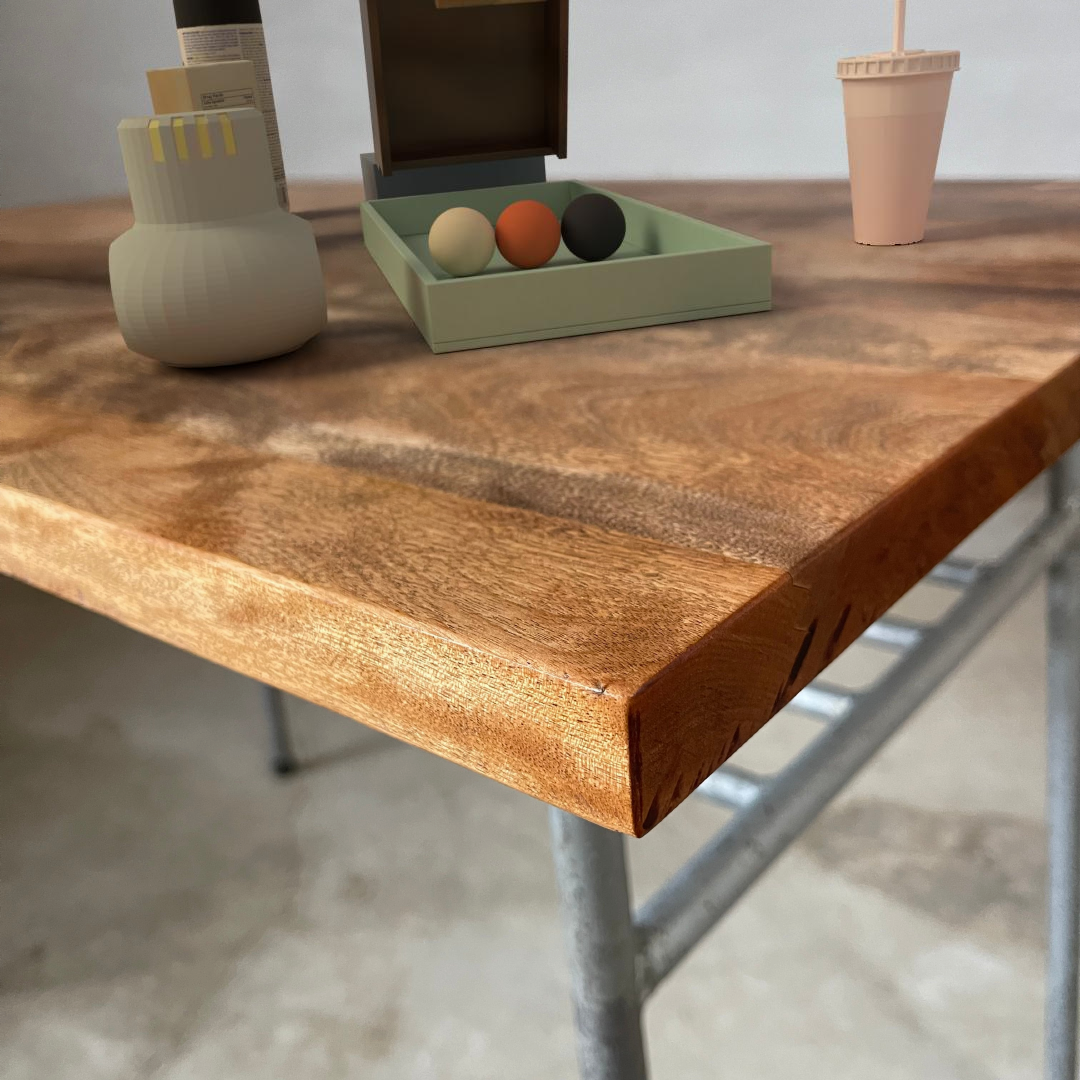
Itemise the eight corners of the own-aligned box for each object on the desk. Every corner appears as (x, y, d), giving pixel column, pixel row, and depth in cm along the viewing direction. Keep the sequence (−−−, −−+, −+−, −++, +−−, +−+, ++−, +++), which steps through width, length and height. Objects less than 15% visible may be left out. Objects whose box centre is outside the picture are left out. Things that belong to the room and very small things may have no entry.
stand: (368, 219, 89) (359, 153, 87) (516, 203, 91) (511, 139, 89) (382, 237, 79) (373, 164, 77) (549, 219, 81) (544, 147, 79)
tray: (364, 245, 77) (358, 201, 75) (577, 221, 79) (575, 179, 78) (433, 353, 47) (425, 284, 46) (771, 310, 50) (772, 243, 48)
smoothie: (945, 228, 65) (964, -40, 60) (951, 247, 60) (972, -46, 54) (832, 232, 67) (840, -28, 61) (828, 251, 62) (836, -33, 56)
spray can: (270, 212, 99) (228, -41, 91) (307, 216, 94) (266, -51, 86) (199, 223, 95) (149, -40, 87) (233, 228, 90) (184, -50, 82)
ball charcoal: (549, 189, 61) (547, 255, 61) (608, 180, 59) (605, 248, 59) (581, 208, 64) (579, 270, 64) (638, 199, 62) (635, 264, 62)
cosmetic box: (244, 239, 84) (213, 62, 79) (287, 240, 81) (258, 58, 77) (178, 255, 79) (141, 67, 74) (222, 256, 77) (187, 63, 72)
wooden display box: (352, -67, 66) (378, -16, 58) (551, -79, 68) (604, -32, 60) (375, 160, 75) (400, 232, 67) (550, 143, 77) (596, 211, 69)
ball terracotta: (481, 261, 62) (480, 203, 59) (528, 237, 64) (529, 180, 61) (525, 289, 60) (527, 231, 58) (573, 264, 62) (576, 206, 59)
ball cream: (411, 216, 58) (435, 282, 59) (475, 191, 58) (498, 257, 58) (428, 227, 62) (450, 289, 62) (488, 203, 61) (510, 266, 62)
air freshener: (339, 368, 46) (300, 107, 42) (129, 397, 44) (67, 128, 40) (317, 317, 55) (284, 102, 51) (145, 339, 54) (97, 118, 50)
